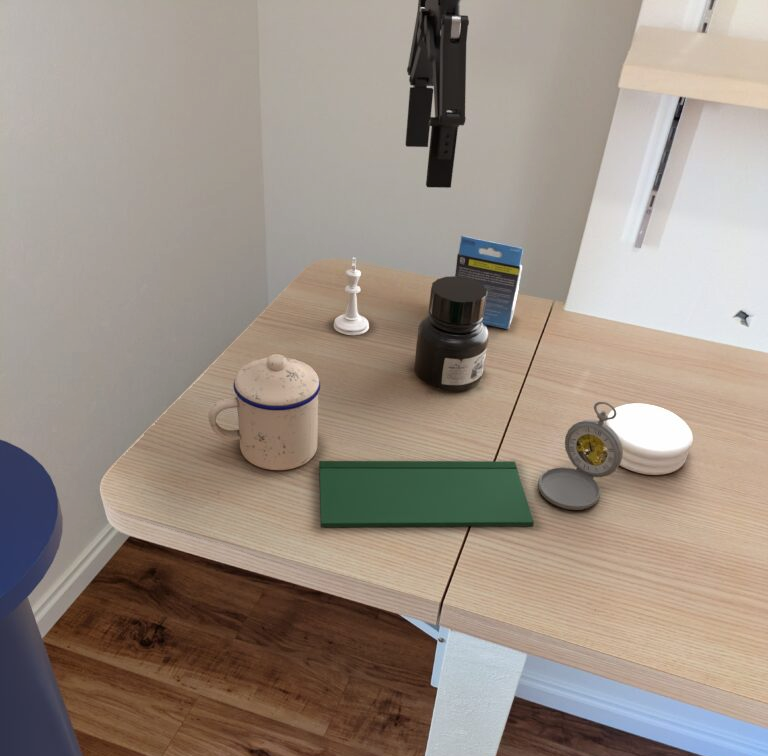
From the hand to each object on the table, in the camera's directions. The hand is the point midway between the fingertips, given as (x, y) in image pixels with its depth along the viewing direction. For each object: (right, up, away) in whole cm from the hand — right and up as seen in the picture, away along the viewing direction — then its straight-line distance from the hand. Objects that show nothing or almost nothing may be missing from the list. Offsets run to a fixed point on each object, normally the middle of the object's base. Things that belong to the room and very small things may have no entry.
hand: (426, 165), depth 94 cm
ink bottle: (+3, -23, +10) cm, 25 cm away
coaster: (+25, -34, 0) cm, 42 cm away
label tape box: (+9, -13, +21) cm, 27 cm away
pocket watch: (+16, -39, -6) cm, 42 cm away
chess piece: (-10, -15, +17) cm, 25 cm away
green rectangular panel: (-1, -39, -9) cm, 40 cm away
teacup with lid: (-18, -34, -5) cm, 39 cm away
